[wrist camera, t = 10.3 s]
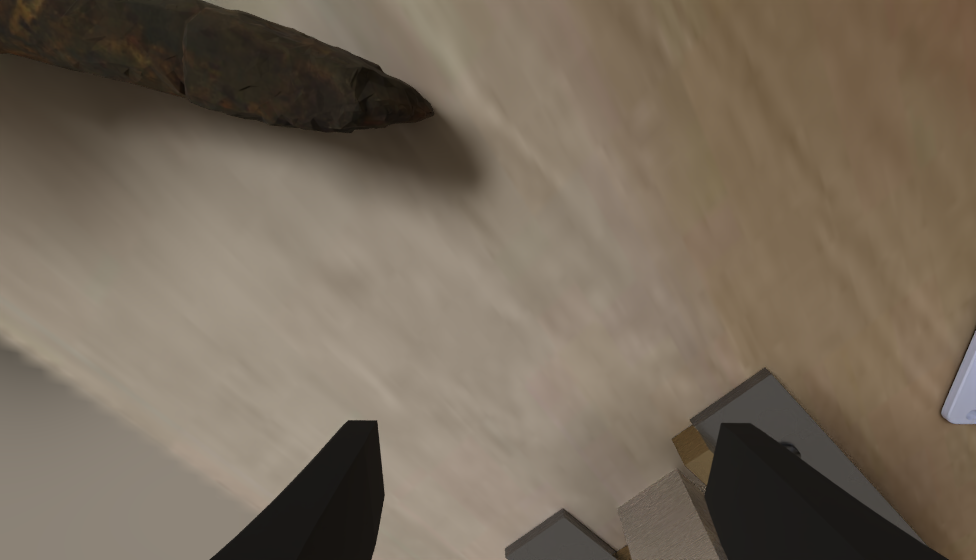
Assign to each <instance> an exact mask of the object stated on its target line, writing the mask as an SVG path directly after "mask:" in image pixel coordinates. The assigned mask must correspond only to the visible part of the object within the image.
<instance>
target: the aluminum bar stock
mask: <svg viewBox="0 0 976 560" xmlns="http://www.w3.org/2000/svg"><path fill="white" fill-rule="evenodd" d="M704 496H705V494H704V493H703V492H702V491H701V490H699V489H698V488H697V487H696V486H695V485H694V484H693V483H692V482H691V481H690V480H688V479H687V478H686V477H685V476H684V475H683V474H682V473H681V472H680V471H679V470H678V469H675V470H673V471H672V472H670V473H669V474H667V475H666V476H664V477H663V478H661V479H660V480H659V481H657V482H656V483H654V484H653V485H651V486H650V487H648V488H647V489H645V490H644V491H642V492H641V493H639V494H638V495H636V496H635V497H633V498H632V499H630V500H629V501H628V502H626V503H625V504H623V505H622V506H620V507H619V508H617V510H618V514H619V517H620V521H621V524H622V528H623V531H624V534H625V538H626V541H627V545H628V548H629V551H630V555H631V558H632V560H728V558H727V556H726V554H725V552H724V550H723V548H722V546H721V543H720V540H719V538H718V535H717V532H716V530H715V527H714V524H713V521H712V519H711V516H710V513H709V510H708V507H707V504H706V501H705V498H704Z"/></svg>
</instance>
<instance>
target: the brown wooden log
mask: <svg viewBox="0 0 976 560" xmlns="http://www.w3.org/2000/svg"><path fill="white" fill-rule="evenodd" d="M5 53H10V54H15V55H19V56H23V57H27V58H30V59H34V60H37V61H41V62H44V63H48V64H51V65H55V66H59V67H62V68H66V69H71V70H76V71H81V72H86V73H91V74H94V75H98V76H102V77H106V78H111V79H115V80H120V81H124V82H128V83H132V84H136V85H140V86H143V87H147V88H150V89H154V90H158V91H161V92H165V93H169V94H173V95H176V96H180V97H184V98H188V99H189V100H190V102H191V103H194V104H196V105H199V106H201V107H204V108H207V109H210V110H215V111H220V112H223V113H226V114H228V115H232V116H236V117H240V118H244V119H253V120H258V121H261V122H264V123H267V124H269V125H274V126H284V127H294V128H301V129H305V130H317V131H322V132H345V133H351V132H353V131H354V130H358V129H369V128H385V127H387V126H388V125H390V124H395V123H412V122H418V121H421V120H423V119H426V118H428V117H431V116H433V115H434V111H433V108H432V106H431V104H430V103H429V102H428V101H427V100H426V99H424V98H423V97H422V96H421V95H420V94H419V93H418V92H417V91H416V89H414V88H413V87H411V86H410V85H408V84H407V83H405V82H403V81H401V80H399V79H397V78H394V77H391V76H389V75H387V74H385V73H384V72H383V71H382V69H381V68H380V66H379V65H377V64H375V63H372V62H370V61H368V60H365V59H363V58H361V57H358V56H355V55H353V54H351V53H350V52H348V51H346V50H343V49H341V48H339V47H333V46H331V45H328V44H325V43H323V42H321V41H319V40H317V39H315V38H313V37H310V36H308V35H305V34H304V33H301V32H299V31H297V30H295V29H293V28H289V27H284V26H281V25H279V24H276V23H273V22H270V21H267V20H264V19H262V18H260V17H257V16H255V15H252V14H249V13H246V12H243V11H239V10H228V9H224V8H222V7H219V6H216V5H213V4H210V3H207V2H205V1H202V0H0V54H5Z"/></svg>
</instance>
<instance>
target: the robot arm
mask: <svg viewBox="0 0 976 560" xmlns="http://www.w3.org/2000/svg"><path fill="white" fill-rule="evenodd" d="M941 414H942V417H944V418H945V419H946V420H948V421H949V422H951V423H953V424H976V331H975V334H974V336H973V338H972V341H971V343H970V345H969V348H968V350H967V352H966V355H965V357H964V359H963V362H962V364H961V366H960V368H959V371H958V373H957V375H956V378H955V380H954V382H953V385H952V387H951V389H950V392H949V394H948V396H947V399H946V401H945V403H944V406H943V408H942V412H941ZM384 496H385V494H384V484H383V474H382V464H381V454H380V444H379V434H378V424H377V421H365V420H348V421H347V422H346V423H345V424H344V425H343V426H342V427H341V428H340V429H339V430H338V431H337V433H336V434H335V435H334V436H333V437H332V438H331V439H330V440H329V442H328V443H327V444H326V445H325V446H324V447H323V448H322V449H321V451H320V452H319V453H318V454H317V455H316V456H315V457H314V458H313V459H312V460H311V462H310V463H309V464H308V465H307V466H306V467H305V468H304V469H303V470H302V471H301V472H300V473H299V474H298V475H297V477H296V478H295V479H294V480H293V481H292V482H291V483H290V484H289V485H288V486H287V487H286V488H285V489H284V490H283V491H282V492H281V493H280V494H279V495H278V496H277V497H276V498H275V499H274V500H273V501H272V502H271V503H270V504H269V505H268V506H267V507H266V508H265V509H264V510H263V511H262V512H261V513H260V514H259V515H258V516H257V517H256V518H255V519H254V520H253V521H252V522H251V523H250V524H249V525H248V526H246V527H245V528H244V529H243V530H242V531H241V532H240V533H239V534H238V535H237V536H236V537H235V538H234V539H233V540H231V541H230V542H229V543H228V544H227V545H226V546H225V547H224V548H222V549H221V550H220V551H219V552H218V553H217V554H216V555H215V556H213V557H212V558H211V559H210V560H371V559H372V555H373V552H374V548H375V545H376V540H377V535H378V530H379V524H380V519H381V513H382V507H383V502H384ZM704 498H705V501H706V504H707V507H708V510H709V513H710V516H711V519H712V521H713V524H714V527H715V530H716V532H717V535H718V538H719V540H720V543H721V546H722V548H723V550H724V552H725V554H726V556H727V558H728V560H948V559H947V558H945V557H944V556H942V555H940V554H939V553H937V552H936V551H934V550H932V549H931V548H929V547H928V546H926V545H924V544H923V543H921V542H920V541H918V540H917V539H915V538H914V537H912V536H911V535H909V534H908V533H906V532H905V531H903V530H902V529H900V528H899V527H897V526H896V525H894V524H893V523H891V522H889V521H888V520H886V519H885V518H883V517H882V516H881V515H879V514H878V513H876V512H875V511H873V510H872V509H870V508H869V507H867V506H866V505H865V504H863V503H862V502H860V501H859V500H857V499H856V498H855V497H853V496H852V495H850V494H849V493H847V492H846V491H845V490H843V489H842V488H840V487H839V486H838V485H836V484H835V483H833V482H832V481H831V480H829V479H828V478H827V477H825V476H824V475H822V474H821V473H820V472H818V471H817V470H816V469H814V468H813V467H811V466H810V465H809V464H807V463H806V462H805V461H803V460H802V459H801V458H799V457H798V456H796V455H795V454H794V453H792V452H791V451H790V450H788V449H787V448H785V447H784V446H783V445H781V444H780V443H779V442H777V441H776V440H774V439H773V438H772V437H770V436H769V435H767V434H766V433H765V432H763V431H762V430H760V429H759V428H757V427H756V426H754V425H753V424H751V423H721V425H720V430H719V434H718V438H717V443H716V447H715V452H714V456H713V461H712V465H711V469H710V474H709V478H708V483H707V487H706V492H705V496H704Z"/></svg>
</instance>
